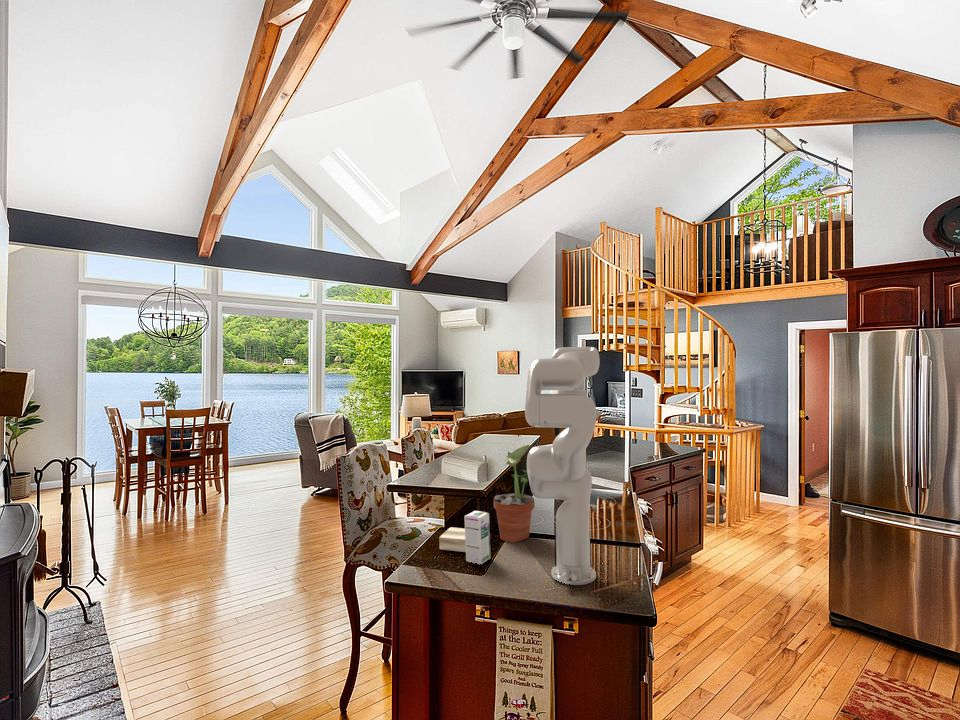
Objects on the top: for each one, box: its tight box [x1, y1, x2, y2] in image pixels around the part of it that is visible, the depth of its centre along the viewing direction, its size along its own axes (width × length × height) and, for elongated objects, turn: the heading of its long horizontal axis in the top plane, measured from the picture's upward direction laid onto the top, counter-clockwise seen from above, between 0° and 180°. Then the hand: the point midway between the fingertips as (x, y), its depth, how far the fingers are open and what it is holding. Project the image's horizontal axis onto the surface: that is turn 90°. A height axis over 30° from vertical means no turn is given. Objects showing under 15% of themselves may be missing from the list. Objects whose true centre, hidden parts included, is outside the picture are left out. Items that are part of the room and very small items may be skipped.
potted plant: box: [493, 444, 535, 543], centre depth 182 cm, size 16×15×35 cm
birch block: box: [438, 526, 466, 553], centre depth 175 cm, size 10×10×4 cm
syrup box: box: [463, 510, 492, 566], centre depth 162 cm, size 6×6×14 cm
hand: (573, 438), depth 170 cm, fingers open, 9 cm apart
